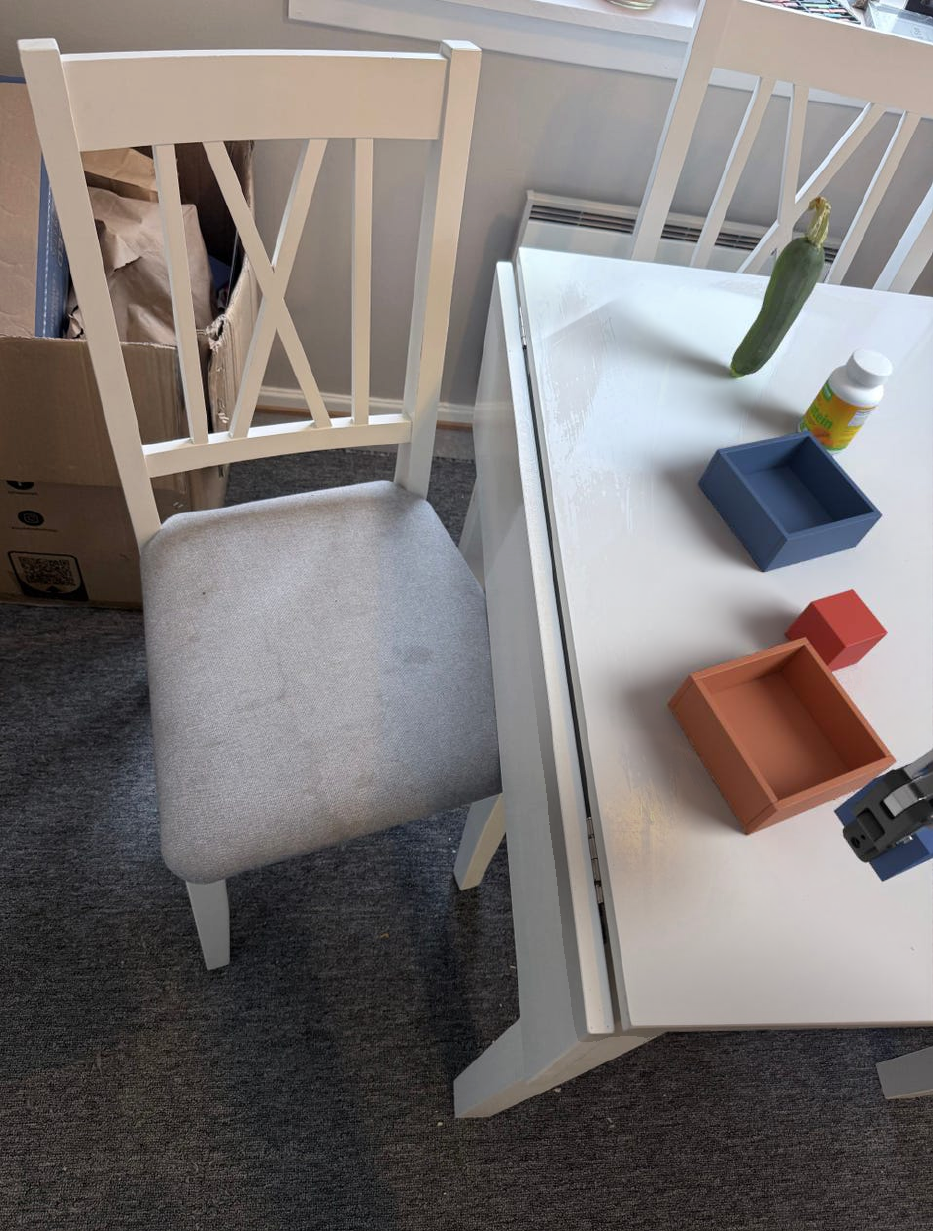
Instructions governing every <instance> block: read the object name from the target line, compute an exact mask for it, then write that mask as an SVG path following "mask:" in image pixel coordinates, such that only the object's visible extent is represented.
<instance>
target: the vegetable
mask: <svg viewBox="0 0 933 1231" xmlns="http://www.w3.org/2000/svg"><path fill="white" fill-rule="evenodd" d="M831 208H832V207H831V206H830V203H828V201H827V199H826V198H825V197H824V196H816V197H815V198H813V199H812V200H810V201H809V203H808V209H807V212H811V211H812V210H814V209H815V211H814V212H813V213H812V215H811V217H810V220H809V222H808V224H807V227H806V228H807V230H806V232H804V233H803V235H804V236H802V237H797V238H794V239H793V240H791V241H789V243H787V244H786V245H785V247H784V248H783V249H782V250H781V252H780V254H779V255H778V257H777V259H776V260H775V262H774V266H773V269H772V272H771V273H770V274H771V275H770V278H769V281H768V283H767V286H766V289H765V293H764V296H763V300H762V305H761V308H760V311H759V313H758V315H757V317H756V319H755V320H754V322H753V323H752V324H751V326H750V327H749V329H748V331H747V332H746V334H745V335H744V336H743V339H742V341H741V342H740V344H739V345H738V347H737V348H736V349H735V351H734V353H733V355H732V357H731V362H730V364H729V368H730V369H731V371H730V375H731V376H733V377H734V378H737V379H738V378H743V377H745V376H749V375H753V374H756V373H758V372H759V371H760V370H762V368H763V367H764V366H765V365H766V364H767V363H768V361H769V360H770V359H771V358H772V357H773V355H774V354H775V353H776V351H778V350H777V349H778V348H779V346H780V345H781V343H782V342H783V341H784V338H785V337H786V335H787V333H788V332H789V330H790V329H791V327H792V326H793V325H794V323H795V322H796V320H797V318H798V317H799V314H800V313H801V312H802V309H803V307H804V305H805V303H806V302H807V301H808V299H809V298H810V296H811V295H812V293H813V291H814V289H815V287H816V285H817V283H818V281H819V279H820V276H821V274H822V272H823V270H824V265H825V260H826V253H825V249H824V247H823V242H824V241H825V240H826V238H827V236H828V232H829V224H830V223H829V220H830V216H831V211H830V209H831Z"/></svg>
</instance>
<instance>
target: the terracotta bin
mask: <svg viewBox="0 0 933 1231" xmlns="http://www.w3.org/2000/svg"><path fill="white" fill-rule="evenodd" d="M667 706H668V708H669V709H670V711H671V712H672V714H673V716H674V717H675V719H676V720H677V722H678V724H679V725H680V727H681V729H682V730H683V732H684V734H685V735H686V737H687V738H688V740H689V742H690V744H691V745H692V748H694V750H695V752H696V753H697V755H698V756H699V758H700V760H701V761H702V763H703V765H704V766H705V768H706V770H707V772H708V773H709V775H710V776H711V778H712V779H713V781H714V783H715V784H716V786H717V788H718V789H719V791H720V793H721V795H722V796H723V797H724V799H725V802H727V805H728V806H729V807H730V809H731V810H732V812H733V814H734V816H735V817H736V819H737V821H738V823H739V824H740V825H741V827H742V829H743V830H744V832H745V834H746V835H747V836H750V835H752V834H755V833H758V832H761V831H762V830H764V829H767V828H769V827H772V826H774V825H776V824H779V823H781V822H783V821H786V820H788V819H791V818H793V817H795V816H798V815H800V814H802V813H805V812H808V811H810V810H812V809H814V808H817V807H819V806H821V805H824V804H827V803H828V802H829V803H830V802H831V801H834V800H835V799H838V798H841V797H843V796H845V795H848V794H850V793H852V792H855V791H858V790H860V789H862V788H863V787H864V786H866V785H867V784H868V783H869V782H871V781H872V780H873V779H874V778H876V777H879V776H881V775H882V774H883V772H884V773H885V771H887V770H888V769H889V768H891V767H892V766H894V764H896V763H897V762H898V761H897V759H896V758H895V756H894V755H893V754H892V752H891V751H890V749H889V748H888V746H887V745H886V744H885V743H884V741H883V740H882V739H881V737H880V736H879V734H878V733H877V732H876V731H875V729H874V728H873V726H872V725H871V724H870V722H869V721H868V719H867V718H866V717H865V716H864V714H863V713H862V711H861V710H860V709H859V707H858V706H857V704H856V703H855V702H854V701H853V699H852V698H851V696H849V693H848V692H847V691H846V690H845V688H844V687H843V686H842V685H841V683H840V682H839V680H838V679H837V678H836V676H835V675H834V674H833V672H831V671H830V670H829V668H828V667H827V666H826V664H825V663H824V661H823V660H822V659H821V657H820V656H819V655H818V653H817V652H816V651H815V649H814V648H813V647H812V645H811V644H810V643H809V641H808V640H807V638H806V637H804V638H801V639H798V640H794V641H788V642H786V643H782V644H779V645H776V646H773V647H770V648H767V649H763V650H761V651H757V652H754V653H751V654H748V655H745V656H742V657H738V658H735V659H733V660H729V661H727V662H723V663H720V664H717V665H714V666H711V667H708V668H705V669H701V670H698V671H695V672H692V673H690V674H688V676H687V677H686V679H685V680H684V681H683V683H682V684H681V685H680V686H679V688H678V689H677V691H676V692H675V693H674V694H673V696H672V697H671V699H670V700H669V701H668V703H667Z"/></svg>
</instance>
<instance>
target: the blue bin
mask: <svg viewBox="0 0 933 1231" xmlns="http://www.w3.org/2000/svg"><path fill="white" fill-rule="evenodd" d="M697 485H698V486H699V487H700V489H701V490H702V491H703V494H705V496H706V497H707V498H708V499H709V501H710V502H711V504H712V505H713V506H714V507H715V509H716V510H717V512H718V513H719V515H720V516H721V517H722V518H723V520H724V521H725V523H726V525H728V527H729V528H730V529H731V530H732V532H733V533H734V534H735V536H736V537H737V538H738V540H739V542H740V543H741V544H742V545H743V547H744V548H745V549H746V551H747V552H748V553H749V555H750V556H751V558H752V559H753V560H754V562H755V563H756V564H757V565H758V567H759V568H760V570H761V571H762V573H767V572H772V571H775V570H779V569H781V568H785V567H789V566H792V565H796V564H799V563H802V562H803V563H804V562H806V561H810V560H814V559H817V558H822V557H824V556H828V555H831V554H835V553H839V552H843V551H845V550H850V549H853V548H856V547H857V546H859V544H860V543H861V541H862V540H863V539H864V538H865V537H866V536H867V534H868V533H869V532H870V531H871V530H872V529H873V527H875V525H876V524H877V522H879V520H880V519H881V518H882V517H883V513H882V512H881V511H880V510H879V509H878V508H877V506H875V504H874V503H873V501H872V500H871V499H870V498H869V497H868V496H867V495H866V494H865V493H864V491H863V490H862V489H861V488H860V487H859V486H858V485H857V484H856V482H855V481H854V480H853V479H852V478H851V477H850V475H848V472H846V471H845V470H844V469H843V467H842V466H841V465H840V464H839V463H838V461H837V460H836V459H835V458H834V457H833V456H832V454H829V453H828V451H827V450H826V449H825V448H824V447H823V446H822V445H821V443H820V442H819V441H818V440H817V439H816V438H815V436H814V435H813V434H812V433H811V432H810V431H805V432H800V433H798V432H795V433H791V434H785V435H781V436H776V437H772V438H771V437H770V438H766V439H761V440H757V441H756V440H755V441H752V442H751V441H750V442H747V443H742V444H741V443H740V444H737V445H732V446H727V447H722V448H718V449H716V450H715V452H714V453H713V456H712V457H711V459H710V461H709V463H708V464H707V466H706V468H705V470H704V472H703V474H702V475H701V477H700V479H699V480H698V483H697Z"/></svg>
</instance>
